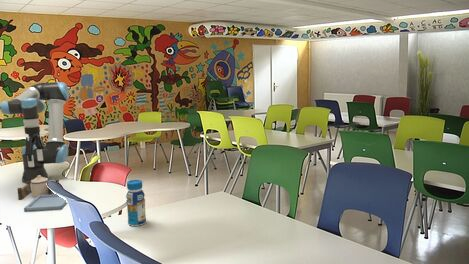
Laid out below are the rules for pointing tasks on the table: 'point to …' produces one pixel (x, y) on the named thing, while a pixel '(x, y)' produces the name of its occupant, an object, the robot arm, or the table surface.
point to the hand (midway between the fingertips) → (36, 163)
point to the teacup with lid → (39, 186)
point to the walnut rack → (29, 190)
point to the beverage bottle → (135, 203)
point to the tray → (46, 203)
